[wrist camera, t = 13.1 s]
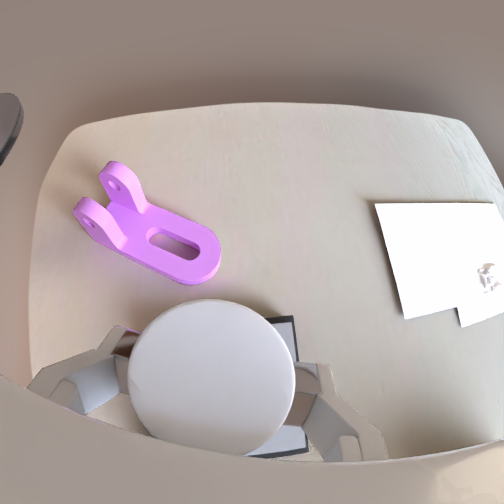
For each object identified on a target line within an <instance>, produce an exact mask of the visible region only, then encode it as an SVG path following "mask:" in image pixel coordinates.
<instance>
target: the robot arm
mask: <svg viewBox="0 0 504 504" xmlns="http://www.w3.org/2000/svg"><path fill="white" fill-rule="evenodd" d="M141 333H142V332H140V331H137V330H133V329H130V328H129V329H128V328H126V327H122V326H119V325H116V326H114V327H113V328H112V330H111V331H110V332H109V334H108V335H107V336H106V338H105V339H104V341H103V342H102V343H101V345H100V346H99V347H98V349H97V350H95V349H92V350H89V351H87V352H84V353H82V354H79V355H76V356H74V357H71V358H69V359H66V360H63V361H61V362H58V363H55V364H53V365H50V366H47V367H45V368H42V369H41V370H40V372H39V373H38V374H37V375H36V377H35V378H34V379H33V380H32V382H31V383H30V384H29V385H28V387H27V388H24V387H22V386H21V385H19V384H17V383H15V382H13V381H11V380H9V379H8V378H6V377H4V376H3V375H1V374H0V504H504V439H498V440H494V441H490V442H487V443H483V444H479V445H475V446H471V447H467V448H462V449H457V450H453V451H447V452H442V453H436V454H430V455H423V456H416V457H408V458H399V459H389V457H388V453H387V449H386V446H385V442H384V439H383V435H382V434H381V433H380V432H379V431H378V430H377V429H376V428H375V427H374V426H372V425H371V424H370V423H369V422H368V421H367V420H366V419H365V418H364V417H363V416H362V415H361V414H359V413H358V412H357V411H356V410H355V409H354V408H353V407H352V406H351V405H350V404H349V403H348V402H347V401H345V400H344V399H343V398H342V397H341V396H337V394H336V390H335V385H334V381H333V376H332V372H331V367H330V365H329V364H318V363H315V364H314V363H305V362H297V361H293V365H294V370H295V392H294V398H293V402H292V406H291V408H290V411H289V413H288V415H287V418H286V419H285V421H284V423H283V424H282V425H286V426H295V427H302V430H303V431H304V432H305V434H306V435H307V437H308V438H309V439H310V441H311V442H312V444H313V445H314V446H315V448H316V449H317V450H318V452H319V453H320V455H321V456H322V457H323V459H324V460H323V462H311V461H290V460H277V459H266V458H257V457H248V456H241V455H234V454H227V453H221V452H215V451H210V450H204V449H199V448H194V447H190V446H185V445H181V444H176V443H172V442H168V441H164V440H160V439H156V438H153V437H149V436H145V435H142V434H139V433H135V432H132V431H129V430H126V429H123V428H119V427H116V426H113V425H111V424H108V423H105V422H102V421H99V420H97V419H94V418H91V417H89V416H86V414H88V413H89V412H91V411H93V410H94V409H96V408H97V407H99V406H101V405H102V404H104V403H105V402H107V401H108V400H110V399H112V398H113V397H115V396H116V395H118V394H119V392H120V393H124V394H127V395H129V390H128V383H127V372H128V364H129V359H130V356H131V352H132V349H133V347H134V345H135V343H136V341H137V339H138V337H139V336H140V334H141Z"/></svg>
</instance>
